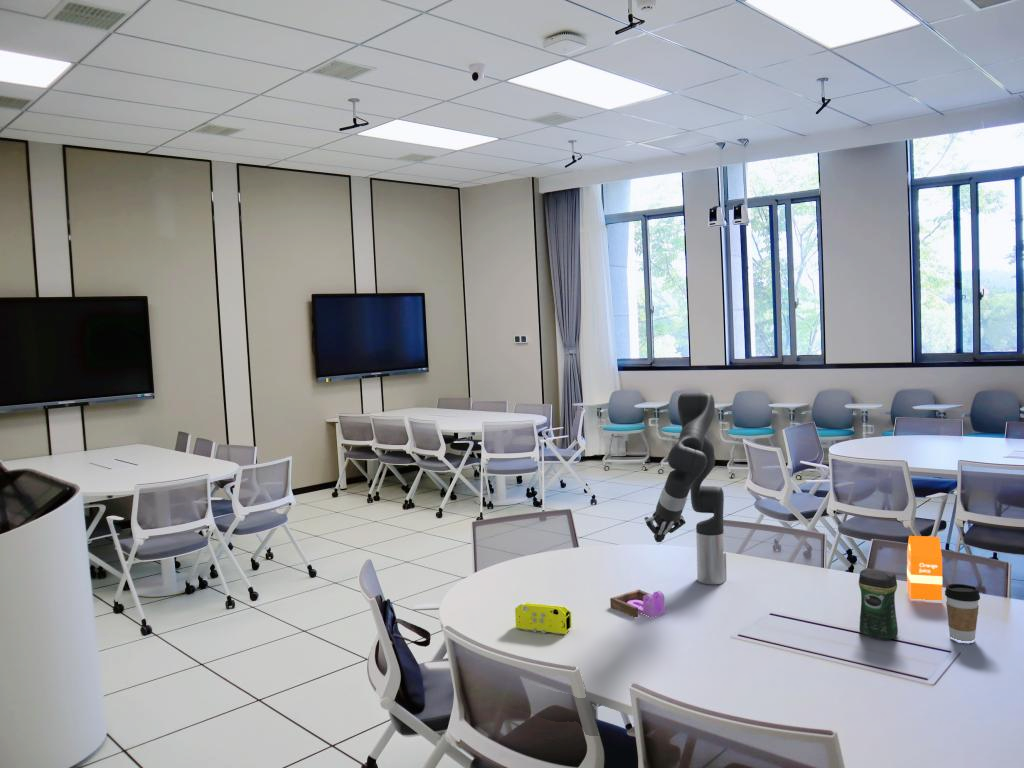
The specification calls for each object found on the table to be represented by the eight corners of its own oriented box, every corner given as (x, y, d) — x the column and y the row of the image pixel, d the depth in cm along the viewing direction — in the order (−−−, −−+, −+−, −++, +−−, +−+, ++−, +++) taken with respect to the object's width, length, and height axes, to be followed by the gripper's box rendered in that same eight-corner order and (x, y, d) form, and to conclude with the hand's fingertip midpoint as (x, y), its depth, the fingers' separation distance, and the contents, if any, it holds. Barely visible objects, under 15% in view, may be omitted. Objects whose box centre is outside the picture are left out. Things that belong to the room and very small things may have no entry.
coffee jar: (901, 634, 218) (901, 570, 216) (891, 643, 212) (891, 577, 211) (865, 626, 225) (865, 563, 223) (855, 634, 219) (854, 570, 218)
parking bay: (639, 598, 254) (638, 589, 254) (664, 608, 245) (664, 599, 245) (610, 607, 248) (610, 598, 247) (635, 617, 238) (634, 608, 238)
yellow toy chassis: (515, 631, 232) (514, 604, 231) (522, 624, 237) (521, 597, 237) (565, 637, 226) (564, 609, 225) (571, 629, 231) (570, 602, 231)
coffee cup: (967, 648, 207) (968, 594, 206) (938, 637, 215) (937, 585, 213) (986, 641, 211) (987, 588, 210) (956, 631, 218) (956, 579, 217)
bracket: (664, 614, 240) (664, 592, 240) (651, 618, 237) (651, 596, 237) (636, 602, 251) (635, 581, 251) (623, 606, 248) (622, 585, 248)
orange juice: (942, 603, 239) (942, 540, 238) (910, 601, 242) (910, 538, 241) (937, 594, 247) (937, 533, 245) (906, 592, 250) (906, 532, 248)
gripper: (689, 491, 230) (674, 529, 240) (647, 492, 227) (634, 531, 237) (697, 509, 224) (682, 548, 234) (654, 511, 221) (641, 550, 232)
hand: (657, 540), depth 236 cm, fingers closed
